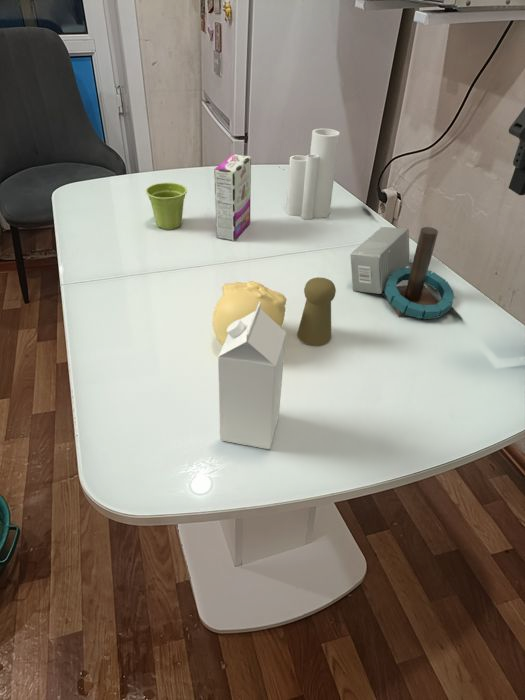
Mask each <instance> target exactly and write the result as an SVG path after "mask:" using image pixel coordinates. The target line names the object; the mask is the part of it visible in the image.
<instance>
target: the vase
mask: <svg viewBox="0 0 525 700" xmlns="http://www.w3.org/2000/svg"><path fill="white" fill-rule="evenodd" d="M311 132H312V133H311V143H310V153H309V154H307V155H302V154H301V155H300V154H299V155H298V154H296V155H291V156H290V157H289V163H288V179H287V193H286V194H287V195H286V209H285V213H286V214H287V215H289V216H293V217H300V218H301V219H302V220H304V221H307V220H312V219H313V218H316V219H321V218H327V217H329V216H330V214H331V205H332V198H333V189H334V183H335V182H334V181H335V172H336V164H337V156H338V149H339V140H340V131H338V130H336V129H332V128H324V127H322V128H321V127H320V128H315V129H313V130H312V131H311Z"/></svg>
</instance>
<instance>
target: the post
mask: <svg viewBox="0 0 525 700" xmlns="http://www.w3.org/2000/svg"><path fill="white" fill-rule="evenodd" d="M438 234H439V230H438V229H436V228H434V227H430V226H424V227H421V229H420V231H419V236H418V240H417V245H416V249H415V252H414V256H413V260H412V264H411V267H412V268H411V272H410V276H409V280H407V284H406V285H404V284H403V285H396V287H397V289H398V291H399V293H400V295H402V296H403V297H404V298H406V299H407V300H409V301H410V302H413V303H417V304H420V305H435V304H437V303H438V302H439V301H438V299H437V297H435V296H434V294H433V293H432V292H431V291H430V290H429V289H428V288H427V286H426V285H425V284H426V283H425V279H426V275H427V272H428V270H429V269H430V268H429V267H430V264H431V260H432V257H433V253H434V249H435V246H436V242H437V238H438ZM381 294H382V295H383V297H384V298H385V299H386V301H387V302H388V304H389V305H390V307H391V308H392V309H393V311H394V312H395V315H397V316H398V317H399V318H401V317H402V318H403V317H410V316H409V315H406V314H405V312H404V313H402V312H401V311H399V310H398V309H397V308H395V307H394V306H392V305H391V303H389V301H388V299H387V297H386V295H385V291H383V292H382V293H381Z"/></svg>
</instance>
